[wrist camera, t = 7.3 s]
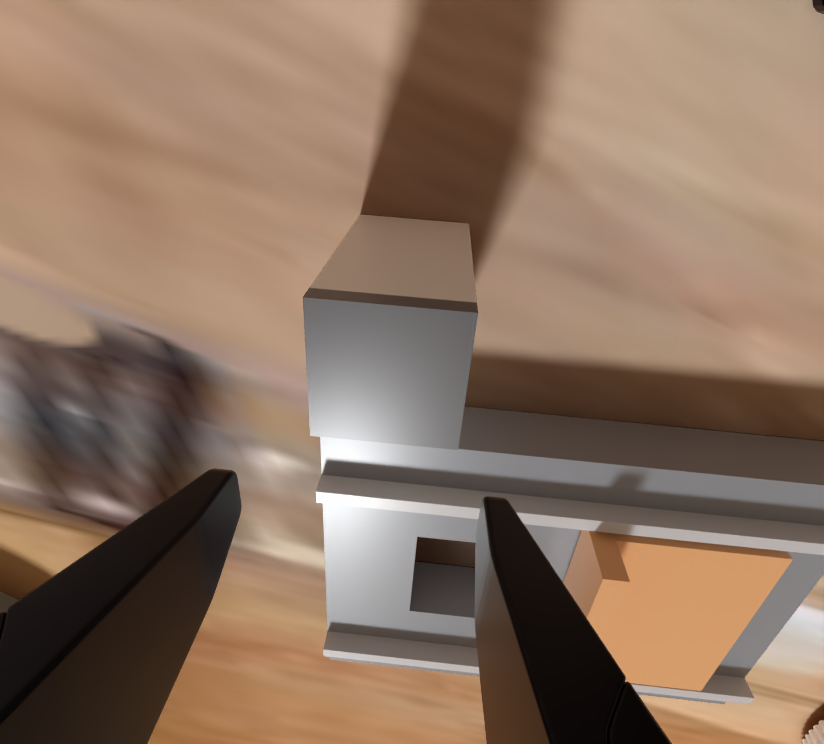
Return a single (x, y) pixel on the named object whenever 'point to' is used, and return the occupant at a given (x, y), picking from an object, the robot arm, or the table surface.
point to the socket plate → (554, 524)
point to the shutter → (669, 601)
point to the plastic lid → (815, 734)
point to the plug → (392, 333)
